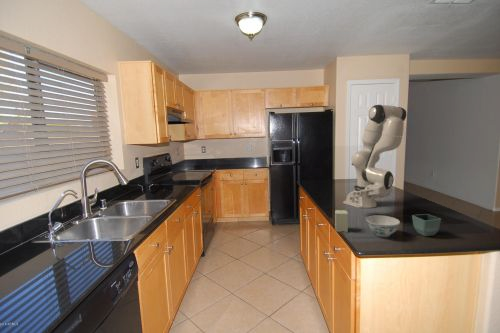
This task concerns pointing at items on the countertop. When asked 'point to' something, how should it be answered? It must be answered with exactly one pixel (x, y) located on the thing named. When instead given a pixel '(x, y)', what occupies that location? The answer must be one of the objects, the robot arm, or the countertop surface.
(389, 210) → the countertop surface
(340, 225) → the sage block
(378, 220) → the chinaware
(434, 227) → the flower pot
